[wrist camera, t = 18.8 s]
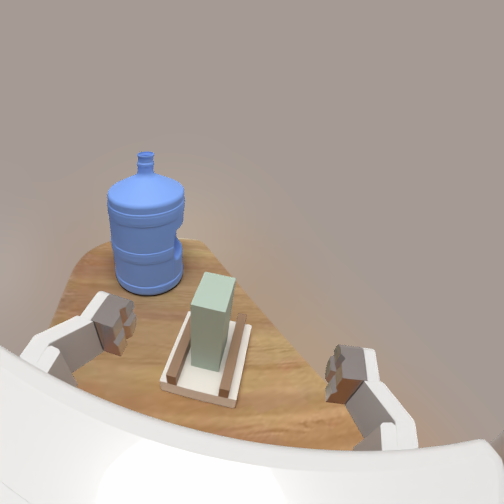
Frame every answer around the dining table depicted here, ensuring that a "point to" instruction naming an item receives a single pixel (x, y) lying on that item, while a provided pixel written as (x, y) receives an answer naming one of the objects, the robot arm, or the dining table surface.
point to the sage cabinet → (211, 320)
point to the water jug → (146, 229)
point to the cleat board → (202, 380)
